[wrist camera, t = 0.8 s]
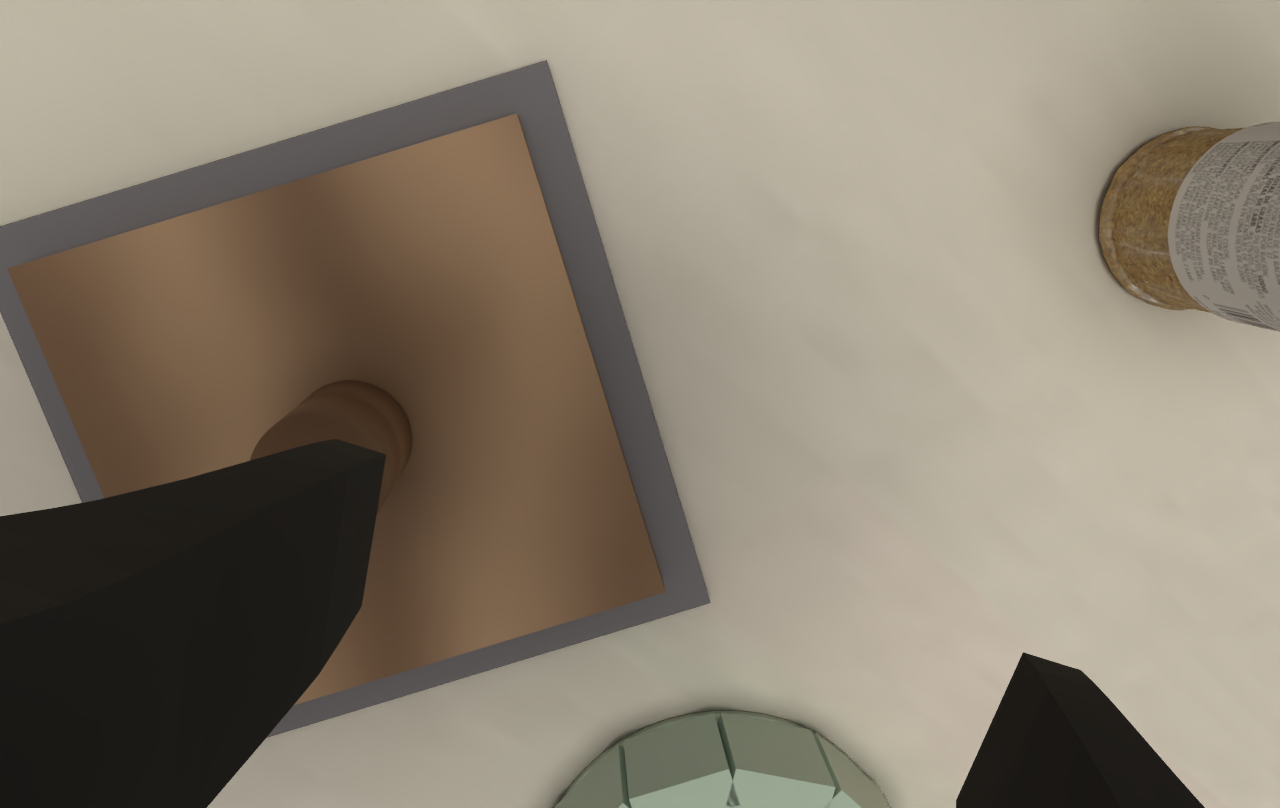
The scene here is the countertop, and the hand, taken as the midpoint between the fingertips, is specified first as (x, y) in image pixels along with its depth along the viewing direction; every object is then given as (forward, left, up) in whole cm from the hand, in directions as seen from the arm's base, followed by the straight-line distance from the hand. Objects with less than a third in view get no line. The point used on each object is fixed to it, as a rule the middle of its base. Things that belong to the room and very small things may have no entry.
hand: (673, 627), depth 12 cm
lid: (-6, +1, -15) cm, 17 cm away
